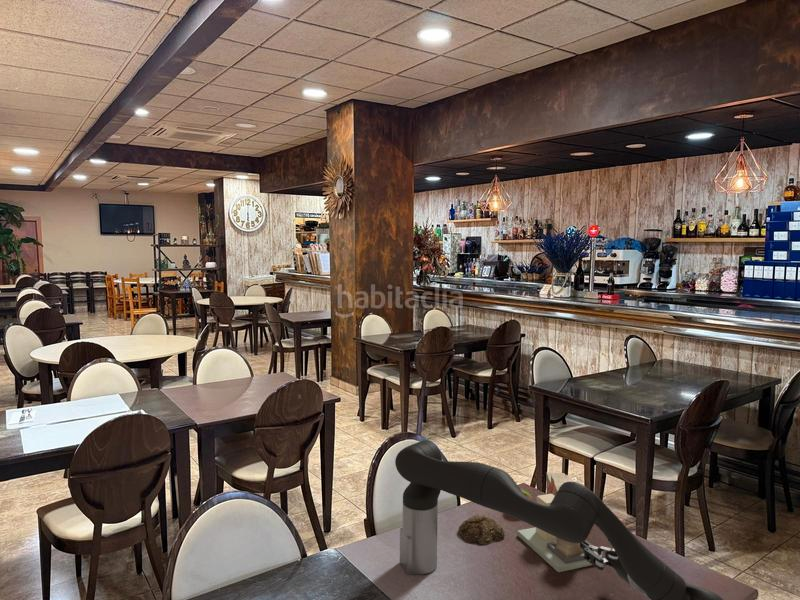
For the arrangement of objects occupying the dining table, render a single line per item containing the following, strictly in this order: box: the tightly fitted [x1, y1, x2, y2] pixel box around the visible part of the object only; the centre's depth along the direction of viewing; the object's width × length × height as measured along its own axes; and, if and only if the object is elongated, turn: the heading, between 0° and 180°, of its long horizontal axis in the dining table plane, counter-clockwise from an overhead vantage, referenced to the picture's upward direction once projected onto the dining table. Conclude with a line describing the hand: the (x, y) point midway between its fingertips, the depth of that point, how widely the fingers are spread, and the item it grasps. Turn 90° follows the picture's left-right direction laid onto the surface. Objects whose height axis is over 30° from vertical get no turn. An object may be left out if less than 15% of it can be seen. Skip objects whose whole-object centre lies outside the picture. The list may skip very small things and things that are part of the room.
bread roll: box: [457, 514, 506, 545], centre depth 165 cm, size 13×12×5 cm
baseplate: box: [517, 494, 598, 573], centre depth 157 cm, size 14×20×12 cm
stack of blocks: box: [545, 472, 574, 496], centre depth 178 cm, size 21×6×12 cm, turn 174°
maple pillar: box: [556, 537, 583, 557], centre depth 152 cm, size 5×5×11 cm
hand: (595, 539), depth 142 cm, fingers open, 8 cm apart
